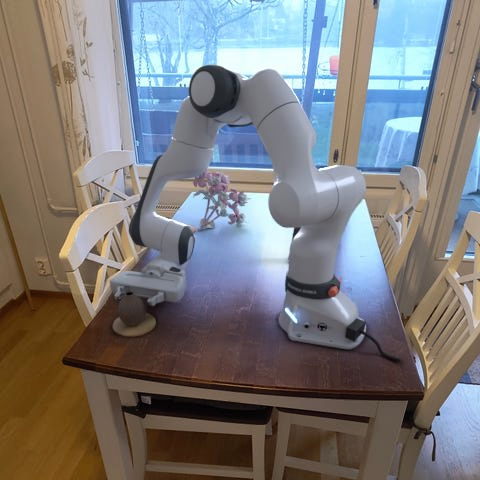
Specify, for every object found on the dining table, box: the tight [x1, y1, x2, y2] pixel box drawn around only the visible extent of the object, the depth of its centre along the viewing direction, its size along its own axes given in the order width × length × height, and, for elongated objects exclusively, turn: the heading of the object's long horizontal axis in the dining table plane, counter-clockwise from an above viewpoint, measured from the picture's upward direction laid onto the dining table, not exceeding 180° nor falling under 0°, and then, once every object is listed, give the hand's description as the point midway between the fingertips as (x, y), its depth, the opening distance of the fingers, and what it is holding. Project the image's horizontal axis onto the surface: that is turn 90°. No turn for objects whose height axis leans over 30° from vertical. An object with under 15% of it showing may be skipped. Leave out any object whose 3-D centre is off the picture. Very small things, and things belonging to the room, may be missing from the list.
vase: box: [117, 291, 147, 327], centre depth 108 cm, size 7×7×9 cm
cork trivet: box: [112, 312, 157, 338], centre depth 111 cm, size 11×11×1 cm
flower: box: [192, 169, 252, 232], centre depth 164 cm, size 20×22×25 cm
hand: (133, 300), depth 108 cm, fingers open, 8 cm apart
